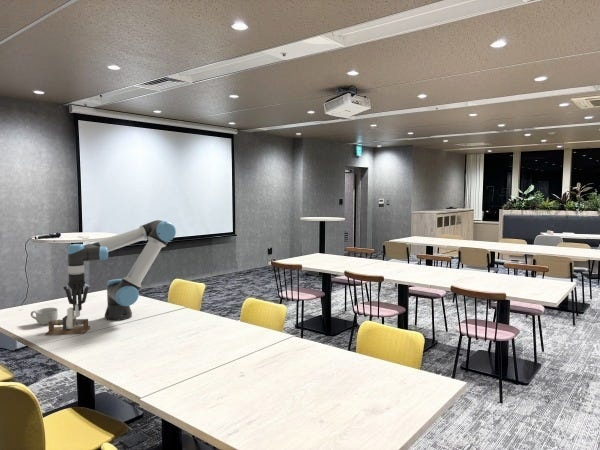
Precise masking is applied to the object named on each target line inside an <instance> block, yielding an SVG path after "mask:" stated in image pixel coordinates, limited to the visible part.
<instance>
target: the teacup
mask: <svg viewBox="0 0 600 450" xmlns="http://www.w3.org/2000/svg"><path fill="white" fill-rule="evenodd" d="M58 310H59V309H58V308H57V307H43V308H40V309H37V310H32V311H31V312H30V317H31V318H32V319H33V320H35V321H36V323H37V324H39V325H41V326H49V325H48V322H49V321H50V320H58V315H59V314H58ZM34 314H35V315H34Z"/></svg>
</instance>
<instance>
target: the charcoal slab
mask: <svg viewBox="0 0 600 450" xmlns="http://www.w3.org/2000/svg"><path fill="white" fill-rule="evenodd" d="M66 318H67V314H66V315H65V316H64V317H63V318H62V320H63V325H62V327H63V330H66V329H67V327H66Z"/></svg>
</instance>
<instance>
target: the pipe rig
mask: <svg viewBox="0 0 600 450" xmlns="http://www.w3.org/2000/svg"><path fill="white" fill-rule="evenodd" d="M73 325H76V326H75V327H74V328H73V329H66V330H63V319H57V320H50V321H49V322H48V325H47V326H48V331H46V332H45V333H44V335H45V336H62V335H63V336H64V335H84V334H85V333H87V332H88V331H89V330H90V329H91V328H92V325H89V318H78V319H77V318H76V319H73Z"/></svg>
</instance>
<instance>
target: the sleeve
mask: <svg viewBox="0 0 600 450" xmlns="http://www.w3.org/2000/svg"><path fill="white" fill-rule="evenodd" d="M66 315H67V318H66V327H67V329H73V328H74V327H75V326H77V325H73V319H77V317H75V311H74V310H73V307H68V308H67V309H66Z"/></svg>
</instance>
